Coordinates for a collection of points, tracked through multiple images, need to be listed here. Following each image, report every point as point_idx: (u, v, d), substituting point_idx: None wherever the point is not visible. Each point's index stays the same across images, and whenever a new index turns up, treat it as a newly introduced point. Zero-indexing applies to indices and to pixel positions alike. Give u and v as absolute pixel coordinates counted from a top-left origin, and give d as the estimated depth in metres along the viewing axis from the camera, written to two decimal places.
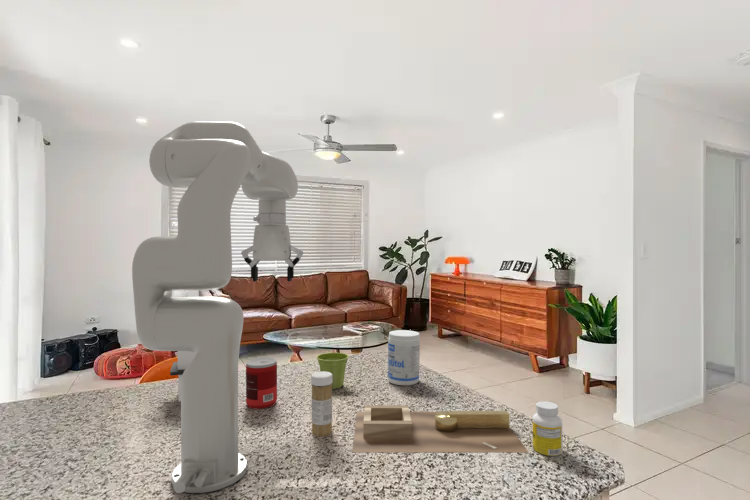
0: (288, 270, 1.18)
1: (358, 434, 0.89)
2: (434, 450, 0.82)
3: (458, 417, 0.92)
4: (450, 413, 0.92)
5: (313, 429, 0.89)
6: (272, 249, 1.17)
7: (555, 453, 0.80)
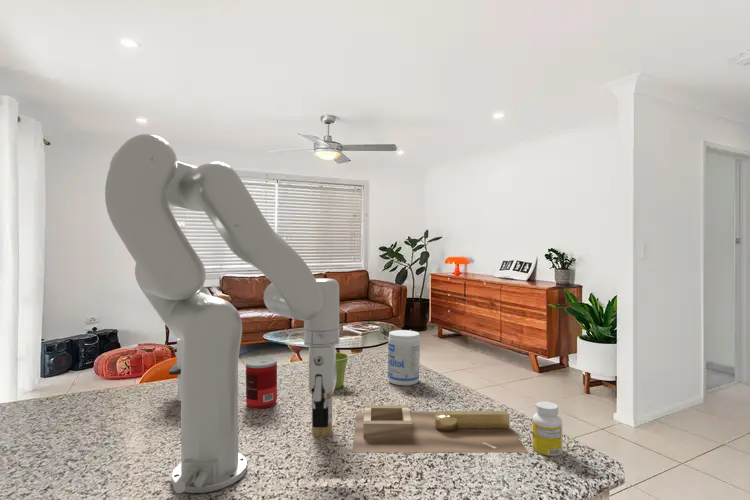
0: None
1: (358, 434, 0.89)
2: (434, 450, 0.82)
3: (458, 417, 0.92)
4: (450, 413, 0.92)
5: (313, 429, 0.89)
6: (334, 374, 0.91)
7: (555, 453, 0.80)
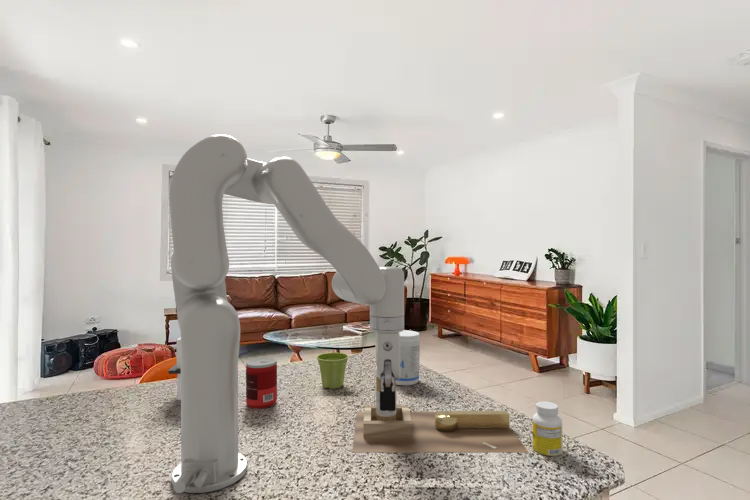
0: None
1: (358, 434, 0.89)
2: (434, 450, 0.82)
3: (458, 417, 0.92)
4: (450, 413, 0.92)
5: None
6: None
7: (555, 453, 0.80)
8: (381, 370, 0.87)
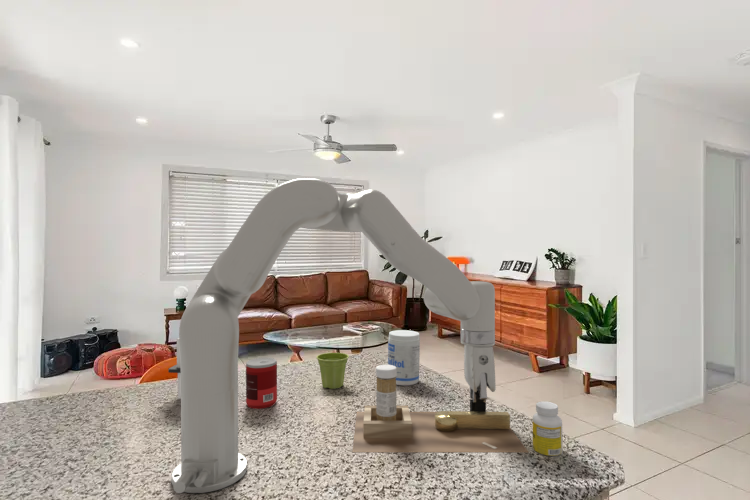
0: None
1: (358, 434, 0.89)
2: (434, 450, 0.82)
3: (458, 417, 0.91)
4: (450, 413, 0.92)
5: None
6: None
7: (555, 453, 0.80)
8: (477, 383, 0.90)
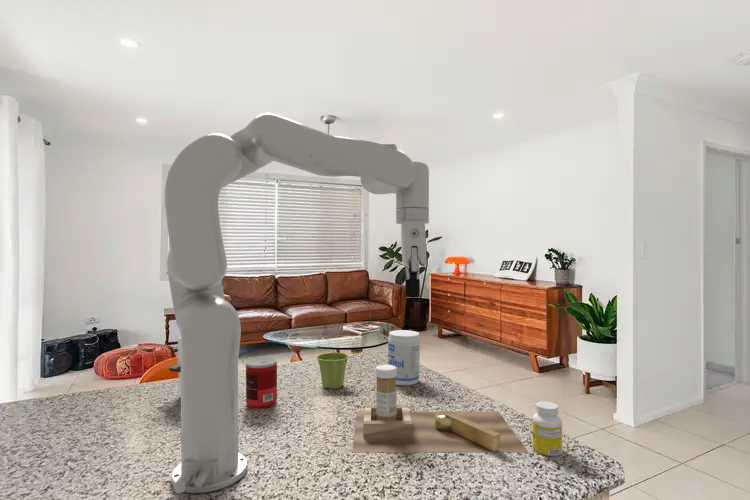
0: None
1: (358, 434, 0.89)
2: (434, 450, 0.82)
3: (452, 420, 0.90)
4: (447, 414, 0.92)
5: None
6: None
7: (555, 453, 0.80)
8: (408, 256, 0.92)
